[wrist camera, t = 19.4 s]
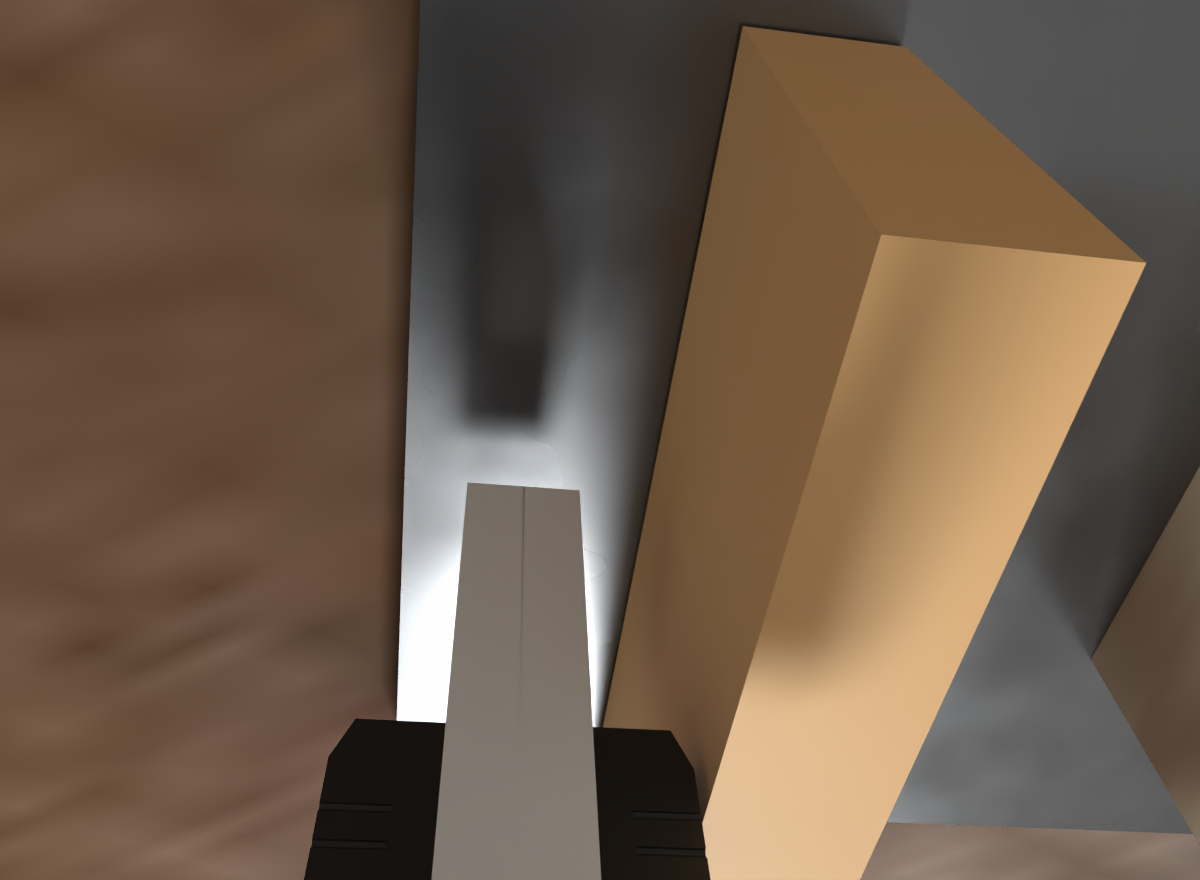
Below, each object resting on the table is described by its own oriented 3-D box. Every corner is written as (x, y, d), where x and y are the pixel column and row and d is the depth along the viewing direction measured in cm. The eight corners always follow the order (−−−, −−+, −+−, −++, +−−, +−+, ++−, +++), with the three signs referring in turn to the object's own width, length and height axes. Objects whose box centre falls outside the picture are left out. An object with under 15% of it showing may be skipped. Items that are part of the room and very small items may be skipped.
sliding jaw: (693, 787, 20) (743, 1129, 15) (591, 782, 20) (608, 1128, 15) (905, 46, 12) (1146, 263, 8) (743, 26, 12) (880, 234, 7)
